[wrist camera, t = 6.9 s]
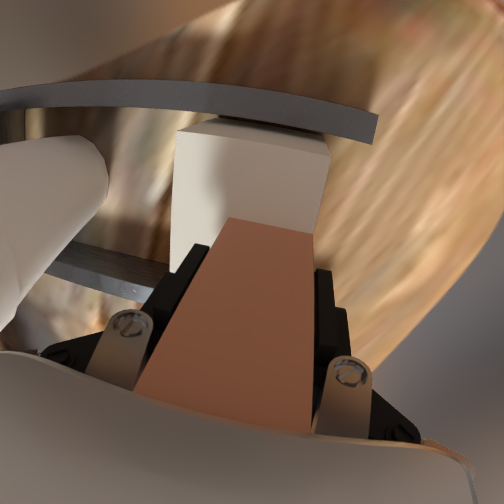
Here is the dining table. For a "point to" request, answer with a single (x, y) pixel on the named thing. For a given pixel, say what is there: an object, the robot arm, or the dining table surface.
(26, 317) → the dining table surface
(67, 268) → the grey frame
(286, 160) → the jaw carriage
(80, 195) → the foam cup
